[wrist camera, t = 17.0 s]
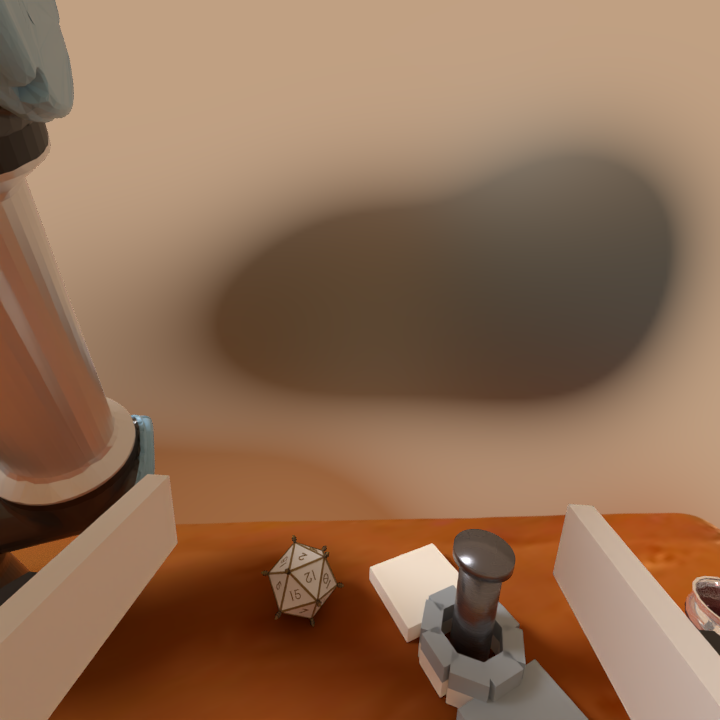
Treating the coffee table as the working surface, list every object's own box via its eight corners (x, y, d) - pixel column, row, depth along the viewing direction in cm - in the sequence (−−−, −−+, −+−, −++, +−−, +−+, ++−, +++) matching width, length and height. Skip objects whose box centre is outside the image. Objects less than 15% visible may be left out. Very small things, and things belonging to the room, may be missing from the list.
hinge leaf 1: (369, 579, 48) (370, 566, 47) (431, 554, 52) (432, 543, 51) (463, 736, 32) (465, 721, 32) (540, 683, 36) (543, 668, 36)
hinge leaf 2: (402, 634, 41) (404, 606, 40) (470, 601, 45) (474, 575, 44) (541, 869, 25) (551, 833, 24) (625, 783, 30) (636, 750, 28)
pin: (430, 644, 40) (441, 539, 36) (469, 624, 42) (484, 523, 38) (465, 699, 35) (483, 583, 31) (507, 672, 37) (528, 561, 34)
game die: (291, 619, 46) (274, 536, 49) (355, 601, 45) (334, 518, 48) (262, 658, 37) (243, 554, 40) (340, 636, 37) (315, 532, 40)
